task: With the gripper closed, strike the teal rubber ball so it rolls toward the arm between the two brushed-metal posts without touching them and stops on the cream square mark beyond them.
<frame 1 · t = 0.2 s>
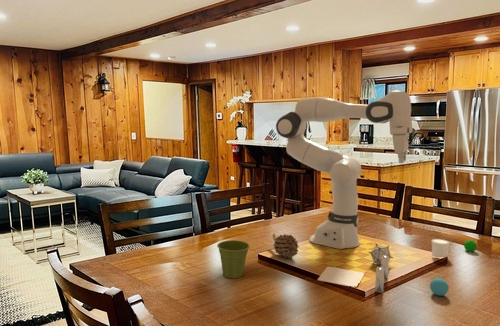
hand: (402, 162, 168), 39 cm above the table, tool pointing down, fingers open, 8 cm apart
post 2: (384, 277, 145), on the table
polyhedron: (469, 251, 174), on the table
plant pot: (233, 275, 146), on the table
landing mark: (341, 276, 145), on the table
white cylinder: (439, 258, 166), on the table
ball: (439, 286, 131), on the table
post 1: (379, 291, 133), on the table
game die: (380, 265, 157), on the table
pine cone: (281, 254, 168), on the table
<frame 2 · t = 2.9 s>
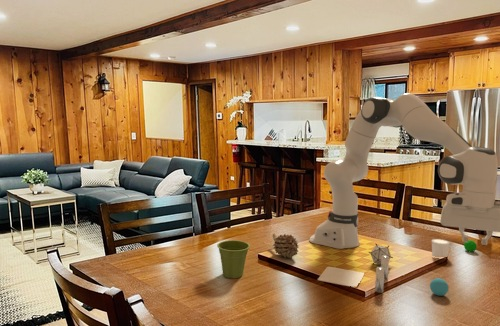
hand: (474, 242, 125), 19 cm above the table, tool pointing down, fingers open, 4 cm apart
nothing on the table moved.
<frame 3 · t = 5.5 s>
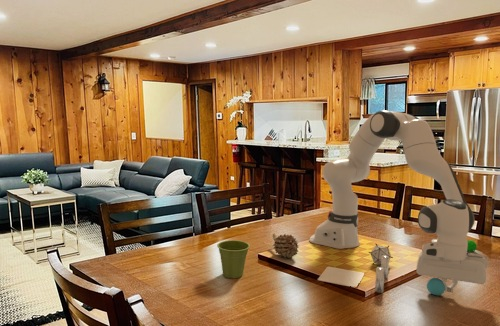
hand: (448, 291, 130), 2 cm above the table, tool pointing down, fingers closed
ball: (435, 286, 131), on the table, touching gripper
everything else where it was.
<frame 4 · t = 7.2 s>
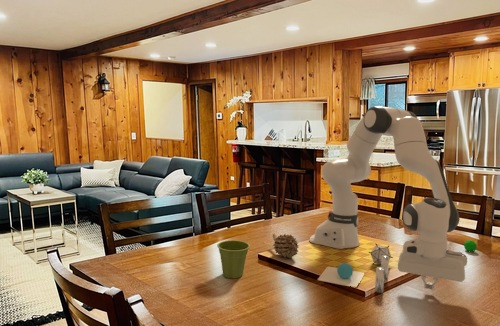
hand: (429, 288, 132), 2 cm above the table, tool pointing down, fingers closed
ball: (344, 270, 143), on the table
everything else where it was.
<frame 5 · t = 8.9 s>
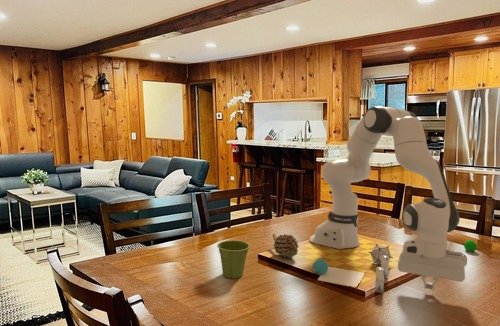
hand: (429, 288, 132), 2 cm above the table, tool pointing down, fingers closed
ball: (320, 266, 147), on the table
everything else where it was.
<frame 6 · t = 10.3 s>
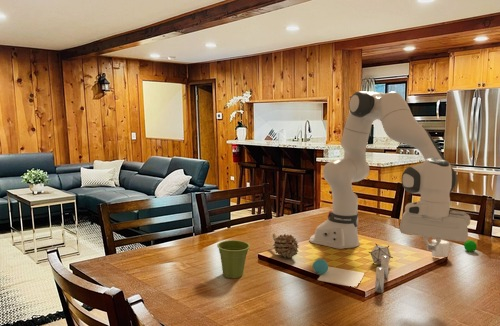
hand: (431, 250, 131), 15 cm above the table, tool pointing down, fingers closed
nothing on the table moved.
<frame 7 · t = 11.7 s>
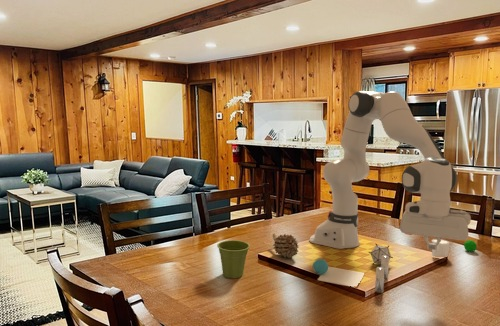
hand: (431, 249, 131), 15 cm above the table, tool pointing down, fingers closed
nothing on the table moved.
at the end: ball 7.7 cm from the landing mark (horizontally); ball never touched post 2; ball never touched post 1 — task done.
